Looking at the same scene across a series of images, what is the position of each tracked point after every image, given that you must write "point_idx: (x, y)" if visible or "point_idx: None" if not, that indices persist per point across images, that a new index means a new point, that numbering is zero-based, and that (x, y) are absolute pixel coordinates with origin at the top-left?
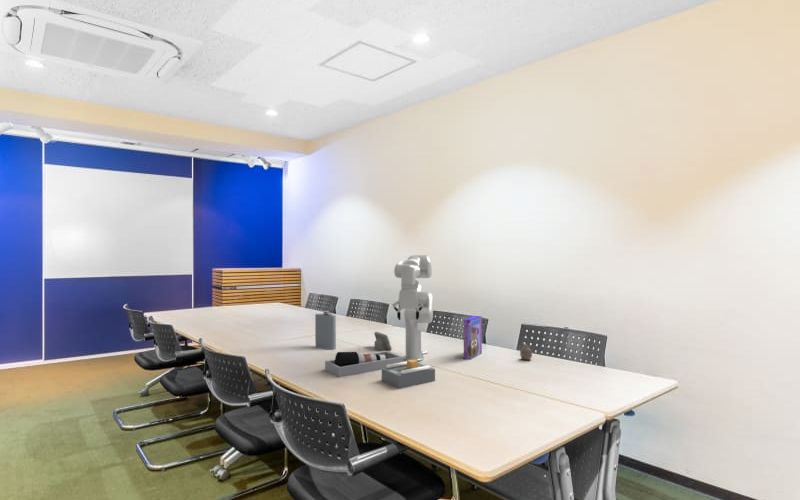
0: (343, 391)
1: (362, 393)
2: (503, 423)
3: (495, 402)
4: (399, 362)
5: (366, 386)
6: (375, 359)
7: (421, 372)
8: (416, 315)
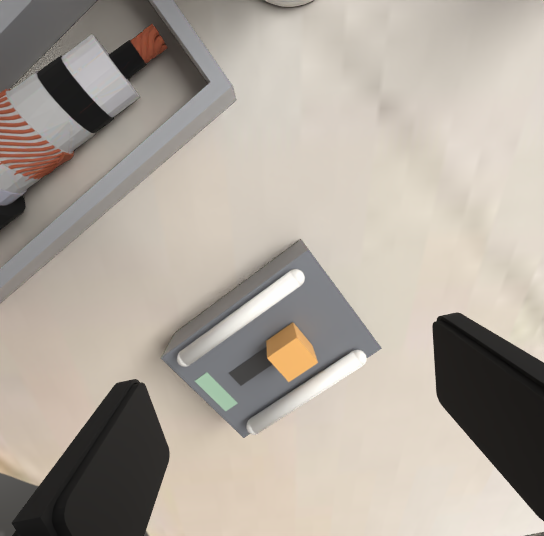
0: None
1: None
2: None
3: (488, 477)
4: (216, 110)
5: None
6: (79, 134)
7: None
8: (483, 429)
